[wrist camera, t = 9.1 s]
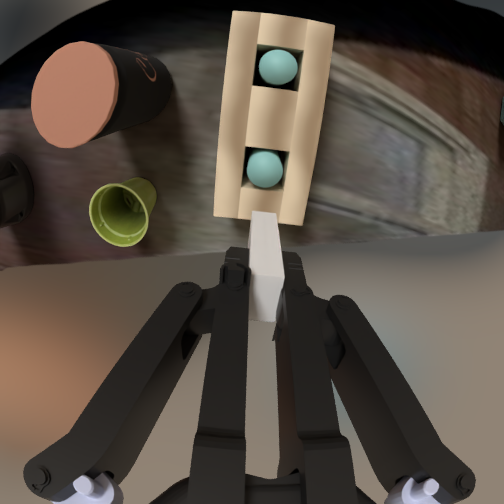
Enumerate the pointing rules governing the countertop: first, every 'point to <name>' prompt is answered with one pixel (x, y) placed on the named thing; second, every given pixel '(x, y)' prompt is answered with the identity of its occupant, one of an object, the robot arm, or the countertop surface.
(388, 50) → the countertop surface
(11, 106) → the countertop surface
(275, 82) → the peg
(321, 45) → the socket block
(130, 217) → the plant pot
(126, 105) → the coffee jar
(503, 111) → the flower pot
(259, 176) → the peg
